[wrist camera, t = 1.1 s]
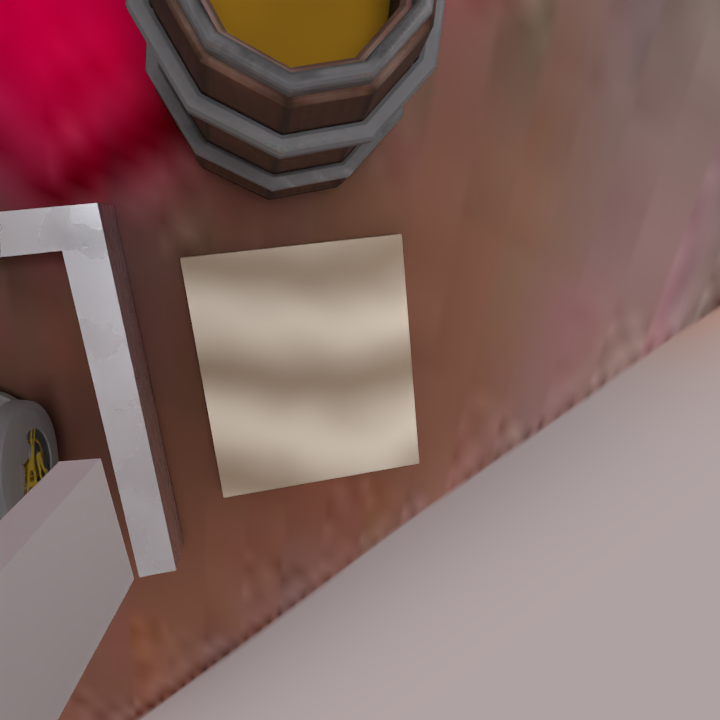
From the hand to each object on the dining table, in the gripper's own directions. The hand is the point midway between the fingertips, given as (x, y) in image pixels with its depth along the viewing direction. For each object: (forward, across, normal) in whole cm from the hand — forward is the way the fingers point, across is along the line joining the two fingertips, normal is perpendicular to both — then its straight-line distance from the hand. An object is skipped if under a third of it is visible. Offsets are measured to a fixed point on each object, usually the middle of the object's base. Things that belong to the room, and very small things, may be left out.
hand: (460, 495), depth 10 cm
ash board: (+22, -5, -5) cm, 23 cm away
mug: (+23, -7, +12) cm, 27 cm away
